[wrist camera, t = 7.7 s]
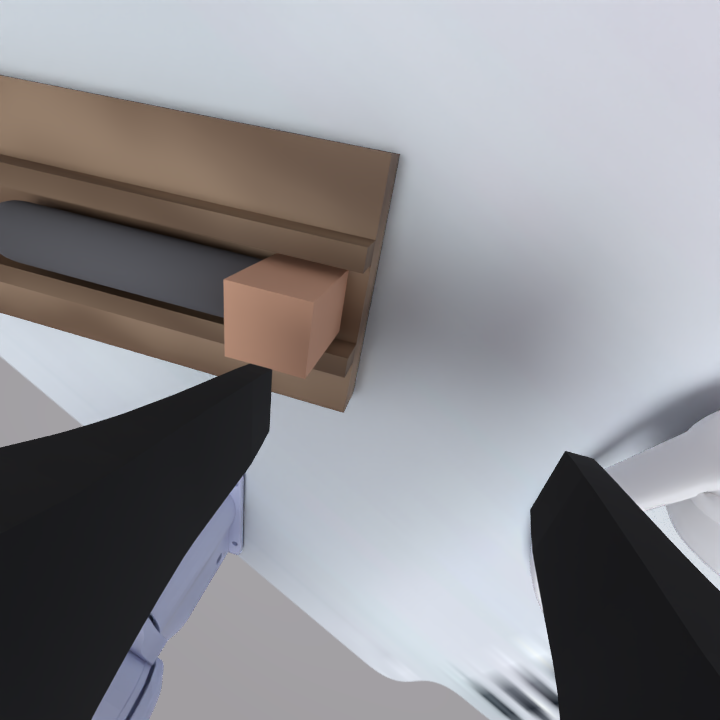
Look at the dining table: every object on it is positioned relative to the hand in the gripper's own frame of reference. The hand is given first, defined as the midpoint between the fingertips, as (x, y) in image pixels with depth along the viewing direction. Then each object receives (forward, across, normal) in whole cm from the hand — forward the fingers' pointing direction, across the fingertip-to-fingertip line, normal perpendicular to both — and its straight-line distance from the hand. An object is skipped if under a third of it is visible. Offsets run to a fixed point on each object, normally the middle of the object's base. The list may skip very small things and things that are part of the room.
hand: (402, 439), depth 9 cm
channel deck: (+10, +15, 0) cm, 18 cm away
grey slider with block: (+8, +12, 0) cm, 14 cm away
